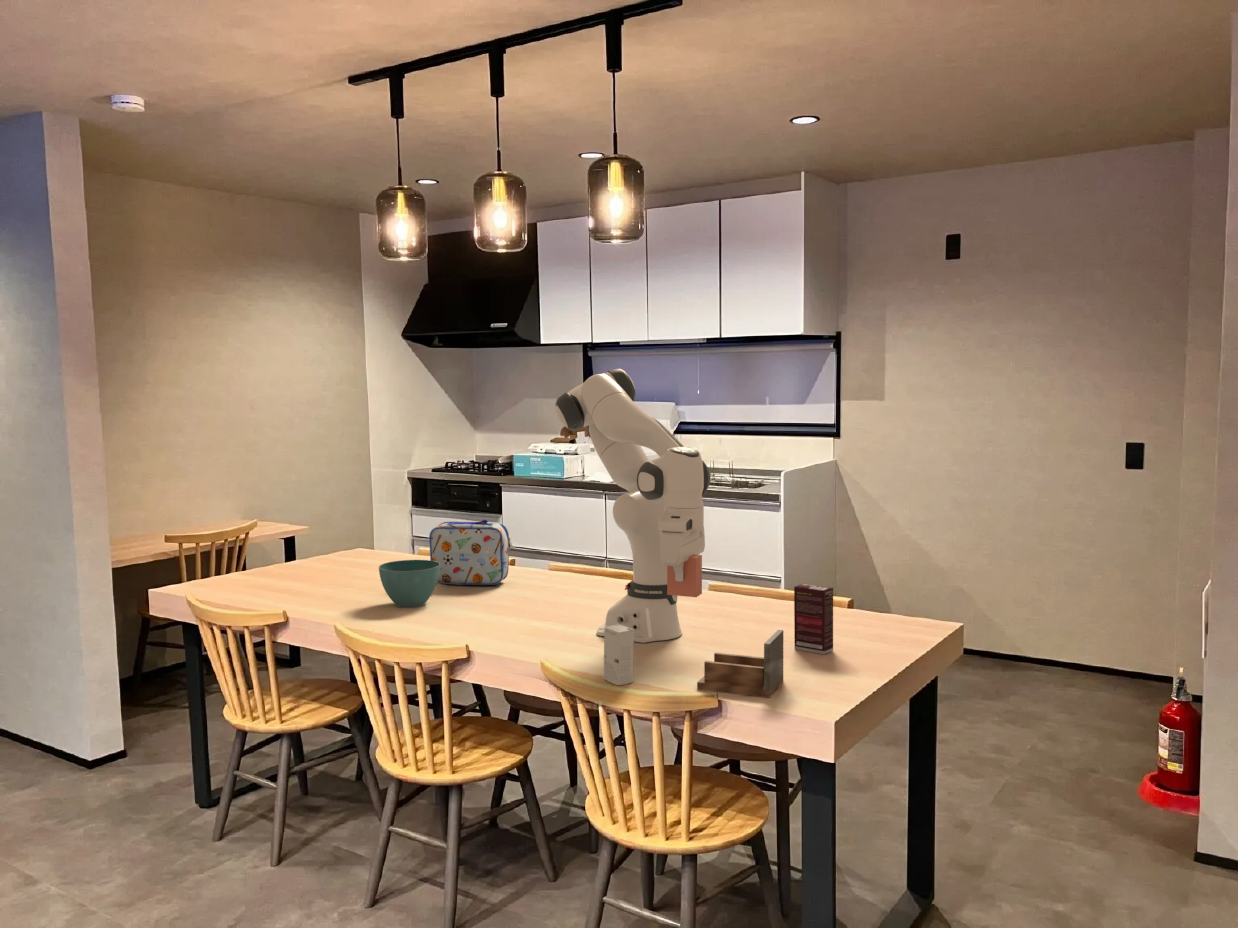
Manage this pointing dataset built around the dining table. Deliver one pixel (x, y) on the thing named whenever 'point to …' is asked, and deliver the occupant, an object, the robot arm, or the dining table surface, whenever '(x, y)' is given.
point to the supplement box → (813, 618)
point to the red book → (686, 578)
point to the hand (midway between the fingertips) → (684, 578)
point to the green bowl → (409, 581)
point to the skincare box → (618, 654)
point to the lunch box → (470, 552)
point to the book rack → (746, 671)
